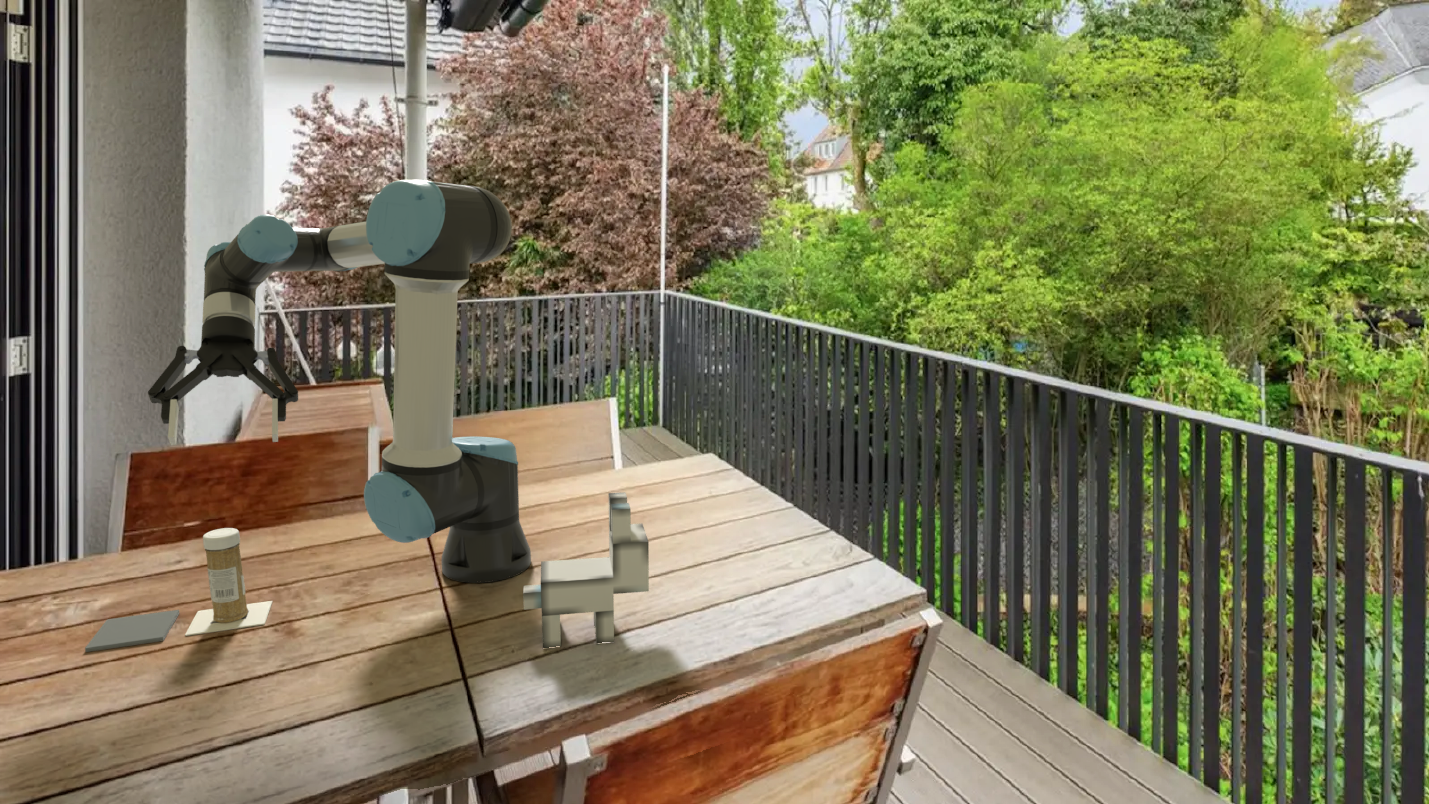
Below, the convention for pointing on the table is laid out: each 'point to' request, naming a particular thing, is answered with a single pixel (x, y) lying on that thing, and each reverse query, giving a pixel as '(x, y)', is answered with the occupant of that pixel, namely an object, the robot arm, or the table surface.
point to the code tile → (206, 623)
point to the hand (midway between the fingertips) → (224, 439)
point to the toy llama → (593, 578)
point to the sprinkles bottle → (225, 574)
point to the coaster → (133, 630)
